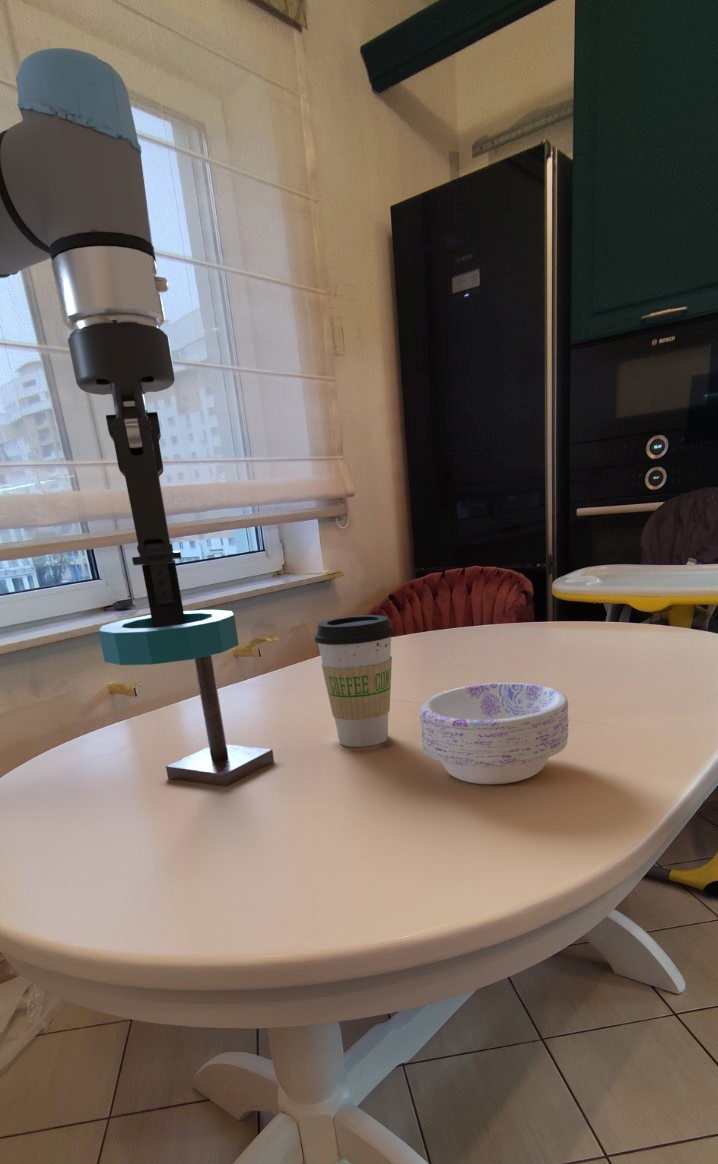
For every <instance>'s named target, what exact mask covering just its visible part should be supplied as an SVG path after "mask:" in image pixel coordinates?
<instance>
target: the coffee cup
mask: <svg viewBox="0 0 718 1164" xmlns="http://www.w3.org/2000/svg"><path fill="white" fill-rule="evenodd" d="M395 634H396V633H395V631H394V627H393V626H391V624H390V621H389V617H388V616H385V615H379V614H378V615H377V614H376V615H375V614H367V615H365V614H364V615H363V614H362V615H351V616H343V617H336V618H331V619H326V620H323V621H320V622H319V623H318V624H317V631H316V633H315V635H314V638H313V641H314V643H316V644H317V645H318V650H319V655H320V658H321V669H322V673H323V677H324V682H325V687H326V691H327V695H328V700H329V704H330V705H329V706H330V709H331V713H332V716H333V717H334V718H333V719H334V722H335V727H336V732H337V736H338V740H339V743H340V744H341V745H342V746H345V747H350V748H363V747H365V748H366V747H372V746H377V745H380V744H383V743H384V742H386V741H387V740H388V738H389V737H388V733H389V732H388V731H389V713H390V710H391V688H392V666H393V665H392V664H393V663H392V661H393V657H392V656H391V654H392V653H391V652H392V651H391V650H392V637H393V636H395Z"/></svg>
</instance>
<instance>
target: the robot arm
mask: <svg viewBox="0 0 718 1164" xmlns="http://www.w3.org/2000/svg"><path fill="white" fill-rule="evenodd" d="M15 82H16V89H17V103H16V105H17V107H18V111H19V112H20V115H21V117H22V120H21V121H20V122H17V123H15V124H14V125H12V126H10V127H9V128H7V129H5V130H3V131H1V132H0V279H5V278H9V277H10V276H15V275H17V274H18V273H19V272H21V271H23V270H25V269H27V268H30V267H33V266H36V265H38V264H40V263H43V262H46V261H48V260H50V259H51V268H52V273H53V279H54V283H55V288H56V293H57V298H58V303H59V306H60V312H61V317H62V322H63V324H64V325H65V326H66V327H67V328H68V329H69V330H71V331H72V332H71V333H70V334H69V337H68V339H67V342H68V344H67V345H68V348H69V353H70V358H71V364H72V368H73V369H72V370H73V374H74V378H75V384H76V385H77V387H78V388H79V389H80V390H81V391H84V392H85V393H88V394H93V395H98V396H99V395H101V396H105V395H112V401H113V402H112V403H113V409H114V413H115V414H105V419H106V420H105V421H106V425H107V430H108V434H109V436H110V439H111V440H112V441H113V445H114V451H115V456H116V461H117V467H118V470H119V472H120V474H121V475H122V476H123V477H124V479H125V484H126V489H127V494H128V500H129V505H130V510H131V516H132V521H133V525H134V530H135V536H136V541H137V546H136V550H137V553H138V555H139V556H132V557H131V560H132V565H133V566H141V569H142V574H143V580H144V585H145V590H146V596H147V600H148V605H149V611H150V615H151V617H152V623H153V628H157V627H165V626H174V625H181V624H185V619H184V613H183V611H184V605H183V601H182V594H181V589H180V582H179V576H178V571H177V564H176V559H177V560H179V559H182V552H181V550H180V549H177V550H174V548H173V541H172V540H171V539H170V533H169V528H168V527H169V526H168V521H167V515H166V510H165V505H164V498H163V493H162V485H161V481H160V477H161V475H162V474H163V473H164V464H163V459H162V452H161V445H160V440H161V438H162V434H161V426H160V421H159V414H158V411H150V412H149V411H148V410H147V405H146V400H145V396H144V395H145V394H147V393H157V392H161V391H165V390H167V389H169V388H170V387H172V386H174V383H175V380H176V379H175V378H176V377H175V371H174V365H173V358H172V351H171V346H170V338H169V335H168V334H167V333H166V332H165V331H164V330H163V329H161V328H160V327H161V326H162V325H163V324H164V322H165V321H166V320H165V319H166V318H165V312H164V305H163V300H162V295H161V294H160V293H167V292H168V290H169V289H170V288H169V282H168V279H167V278H166V277H164V276H163V277H162V276H157V273H158V267H157V264H156V262H157V259H156V254H155V253H156V252H155V246H154V244H153V237H152V231H151V223H150V216H149V210H148V203H147V202H148V201H147V194H146V193H147V192H146V186H145V177H144V169H143V162H142V146H141V144H140V142H139V140H138V133H137V130H136V125H135V120H134V115H133V111H132V105H131V101H130V96H129V92H128V89H127V85H126V83H125V81H124V79H123V78H122V76H121V74H120V73H118V71H117V70H116V69H115V68H114V66H112V65H111V64H110V63H108V62H106V61H104V60H102V59H100V58H99V57H98V56H97V55H94V54H92V53H89V52H86V51H83V50H79V49H74V48H66V47H54V48H51V47H50V48H46V49H41V50H37V51H35V52H33V53H31V54H28V55H27V56H26V57H25V58H24V59H22V61H21V63H20V67H19V70H18V71H17V74H16V77H15Z"/></svg>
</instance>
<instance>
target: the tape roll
mask: <svg viewBox="0 0 718 1164" xmlns="http://www.w3.org/2000/svg"><path fill="white" fill-rule="evenodd" d="M183 613H184V619H185V624H181V625H174V626H165V627H157V628H153V623H152V617H151V614H148V615H144V616H143V615H142V616H137V617H131V618H126V619H121V620H117V621H115V622H111V623H107V624H104V625H101V626H100V627H99V629H98V630H97V632H98V638H99V642H100V645H101V652H102V656H103V660H104V662H105V663H109V664H114V665H118V666H144V665H147V666H149V665H150V666H151V665H159V664H166V663H167V664H169V663H175V662H183V661H191V660H194V659H196V658H201V657H205V656H209V655H212V656H213V655H217V654H222V653H225V652H227V651H230V650H232V649H233V648H236V647H238V646H239V643H240V642H239V637H238V630H237V625H236V624H237V623H236V617H235V616H236V615H235V614H234V613H233V611H232V610H222V609H199V610H198V609H197V610H183Z"/></svg>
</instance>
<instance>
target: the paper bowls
mask: <svg viewBox="0 0 718 1164" xmlns="http://www.w3.org/2000/svg"><path fill="white" fill-rule="evenodd" d="M419 712H420V724H421V742H422V750H423V752H424V753H425V754H426V755H427V756H428V757H430V758H432V759H433V760H435V761H439V762H441V763H442V766H443V767H444V769H445V770H446V771H447V773H448V774H449V775H450V776H452V777H454V778H455V779H457V780H460V781H462V782H466V783H471V784H477V785H504V784H512V783H516V782H517V783H518V782H521V781H524V780H527V779H529V778H531V777H533V776H535V775H537V774H538V773H539V772H541V771H542V770H543V768H545V765H546V764H547V761H548V760H549V758H551V757H553V756H555V755H557V754H559V753H560V752H562V751H563V750H564V749H565V748H566V747H567V745H568V739H569V700H568V697H567V695H566V694H565V693H564V692H562V691H560V690H559V689H556V688H553V687H550V686H546V685H540V684H532V683H522V682H521V683H520V682H497V683H495V682H493V683H481V684H480V683H479V684H474V685H473V684H472V685H467V686H461V687H456V688H452V689H449V690H444V691H442V692H438V693H436V694H434V695H432V696H430V697H428V698H427V699H426V700H424V701H423V703H422V705H421V706H420V709H419Z"/></svg>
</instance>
